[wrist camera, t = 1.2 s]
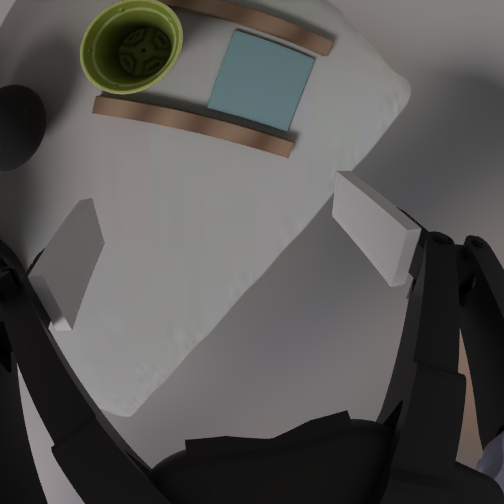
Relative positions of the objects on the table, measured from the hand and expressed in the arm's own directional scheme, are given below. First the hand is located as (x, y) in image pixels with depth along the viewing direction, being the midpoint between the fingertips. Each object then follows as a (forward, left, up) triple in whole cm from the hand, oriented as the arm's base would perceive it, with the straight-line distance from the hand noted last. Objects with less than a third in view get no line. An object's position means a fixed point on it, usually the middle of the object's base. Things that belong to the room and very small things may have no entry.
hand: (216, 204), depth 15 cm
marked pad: (+5, +8, -22) cm, 23 cm away
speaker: (-23, -2, -22) cm, 32 cm away
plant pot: (-9, +8, -22) cm, 25 cm away
